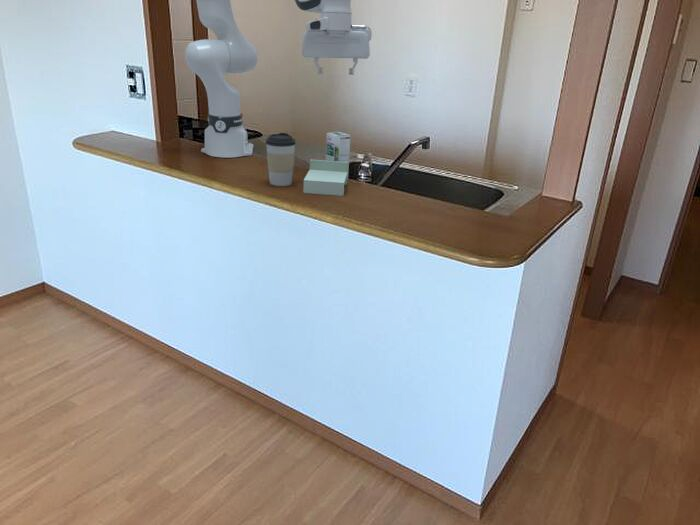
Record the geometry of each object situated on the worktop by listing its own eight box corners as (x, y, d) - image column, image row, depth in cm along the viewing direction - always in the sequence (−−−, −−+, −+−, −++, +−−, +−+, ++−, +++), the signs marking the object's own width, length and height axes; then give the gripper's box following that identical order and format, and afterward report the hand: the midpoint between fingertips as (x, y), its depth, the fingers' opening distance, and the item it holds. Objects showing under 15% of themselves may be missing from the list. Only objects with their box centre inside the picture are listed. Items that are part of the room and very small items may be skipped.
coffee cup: (290, 188, 169) (290, 139, 162) (262, 185, 170) (261, 136, 164) (298, 180, 177) (299, 133, 170) (271, 177, 178) (271, 130, 172)
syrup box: (324, 176, 182) (325, 132, 176) (338, 174, 186) (340, 130, 180) (335, 181, 178) (336, 136, 172) (349, 178, 182) (351, 134, 176)
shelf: (309, 180, 177) (310, 159, 174) (347, 183, 176) (348, 162, 173) (303, 192, 165) (303, 170, 162) (343, 195, 165) (344, 173, 162)
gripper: (371, 25, 164) (370, 74, 170) (303, 23, 165) (303, 72, 170) (371, 24, 159) (370, 75, 164) (300, 23, 159) (301, 74, 164)
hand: (335, 74), depth 167 cm, fingers open, 8 cm apart
